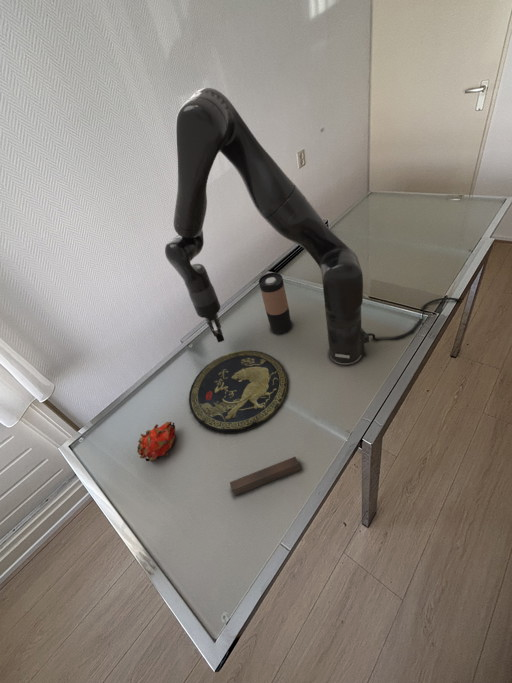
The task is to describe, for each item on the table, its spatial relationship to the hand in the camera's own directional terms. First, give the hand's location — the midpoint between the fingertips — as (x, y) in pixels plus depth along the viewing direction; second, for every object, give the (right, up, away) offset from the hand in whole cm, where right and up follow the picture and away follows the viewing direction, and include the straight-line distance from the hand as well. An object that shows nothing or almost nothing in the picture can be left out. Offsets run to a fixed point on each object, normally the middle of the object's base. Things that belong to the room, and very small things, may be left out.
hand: (221, 340), depth 107 cm
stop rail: (+14, -32, -33) cm, 48 cm away
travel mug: (+21, +4, +5) cm, 22 cm away
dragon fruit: (-13, -29, -20) cm, 38 cm away
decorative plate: (+6, -15, -11) cm, 20 cm away
